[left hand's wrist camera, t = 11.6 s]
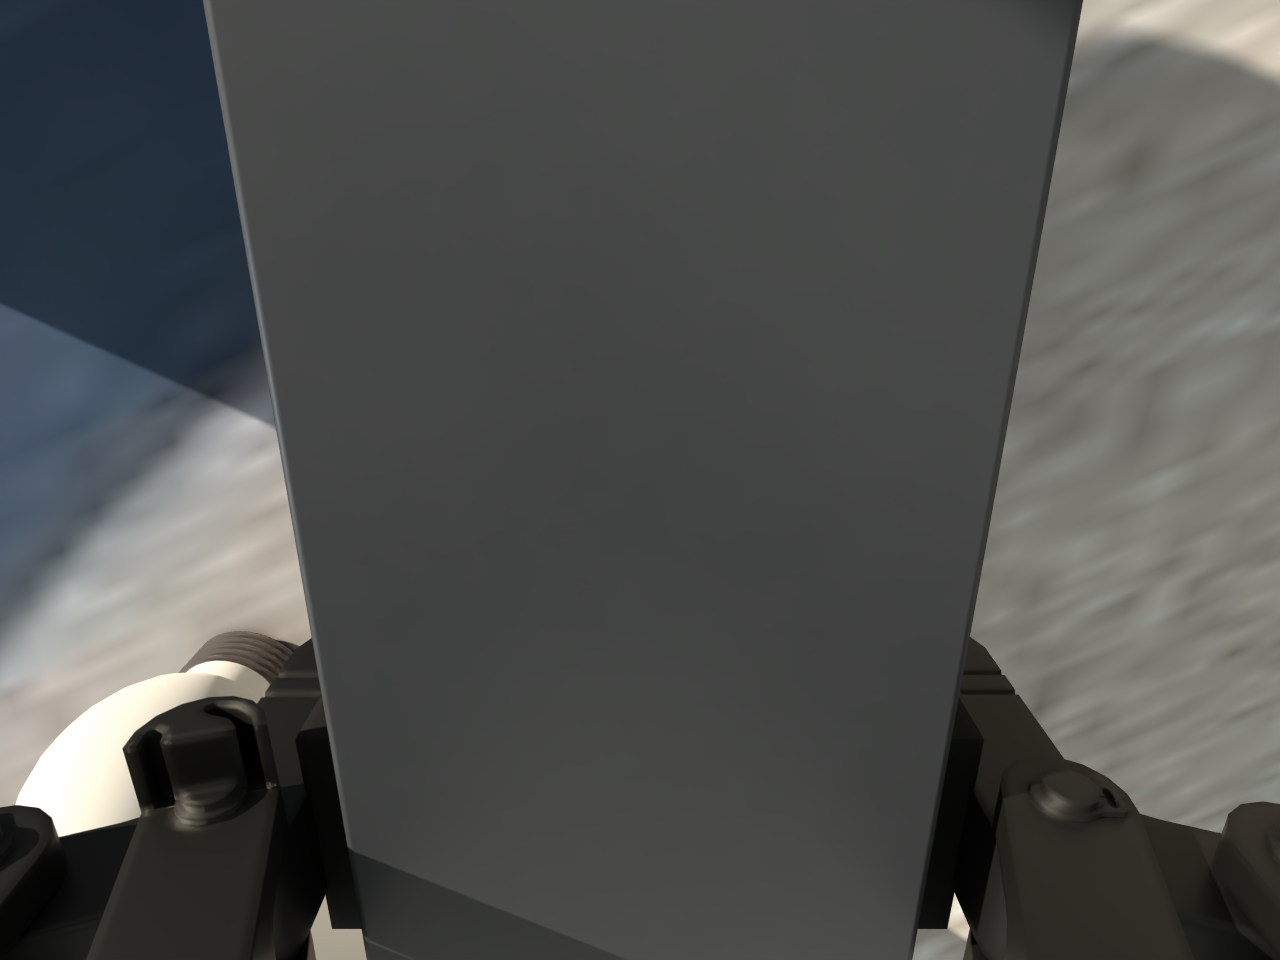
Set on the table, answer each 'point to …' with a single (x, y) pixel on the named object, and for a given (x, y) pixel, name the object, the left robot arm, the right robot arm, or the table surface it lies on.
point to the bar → (641, 442)
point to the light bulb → (92, 745)
